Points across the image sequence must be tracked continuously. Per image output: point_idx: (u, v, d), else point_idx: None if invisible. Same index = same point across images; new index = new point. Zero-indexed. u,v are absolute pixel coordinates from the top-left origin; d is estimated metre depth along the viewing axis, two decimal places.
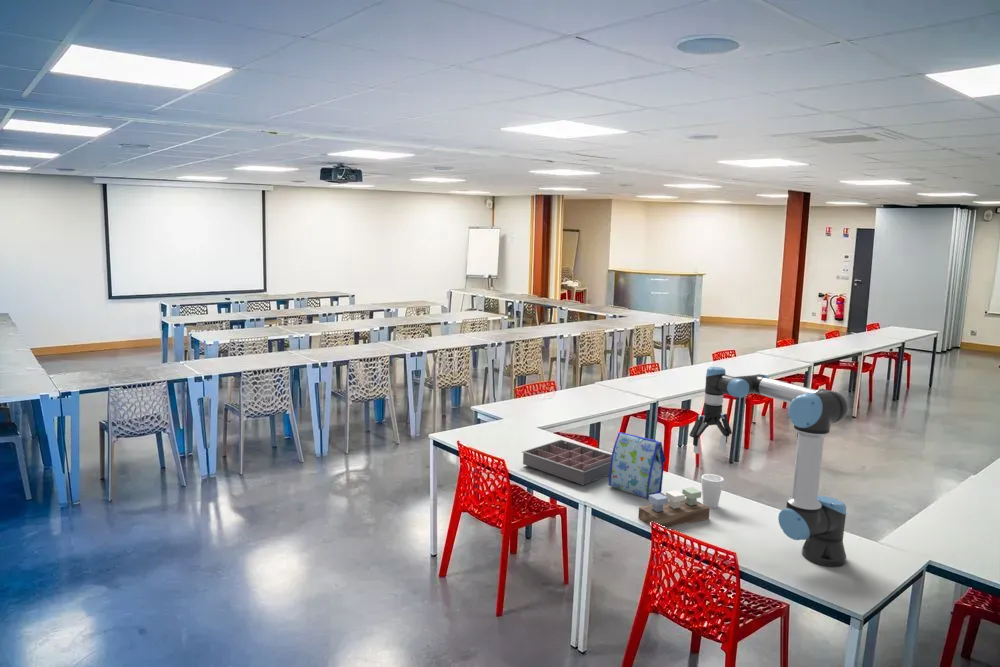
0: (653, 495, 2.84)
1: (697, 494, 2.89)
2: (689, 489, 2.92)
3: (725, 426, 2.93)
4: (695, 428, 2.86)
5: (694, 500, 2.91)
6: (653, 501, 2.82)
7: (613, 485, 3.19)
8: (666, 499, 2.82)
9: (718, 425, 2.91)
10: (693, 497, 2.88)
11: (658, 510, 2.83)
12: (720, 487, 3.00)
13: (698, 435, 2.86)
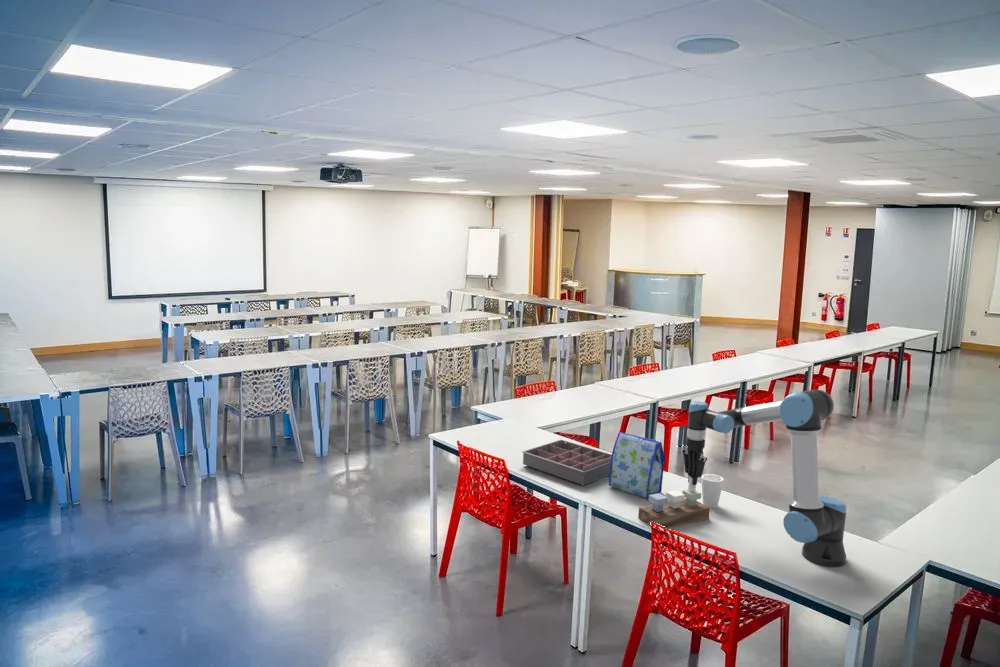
0: (653, 495, 2.84)
1: (697, 495, 2.89)
2: None
3: None
4: None
5: (694, 501, 2.91)
6: (653, 501, 2.82)
7: (613, 485, 3.19)
8: (666, 499, 2.82)
9: None
10: (693, 498, 2.89)
11: (658, 510, 2.83)
12: (720, 487, 3.00)
13: (688, 472, 2.91)
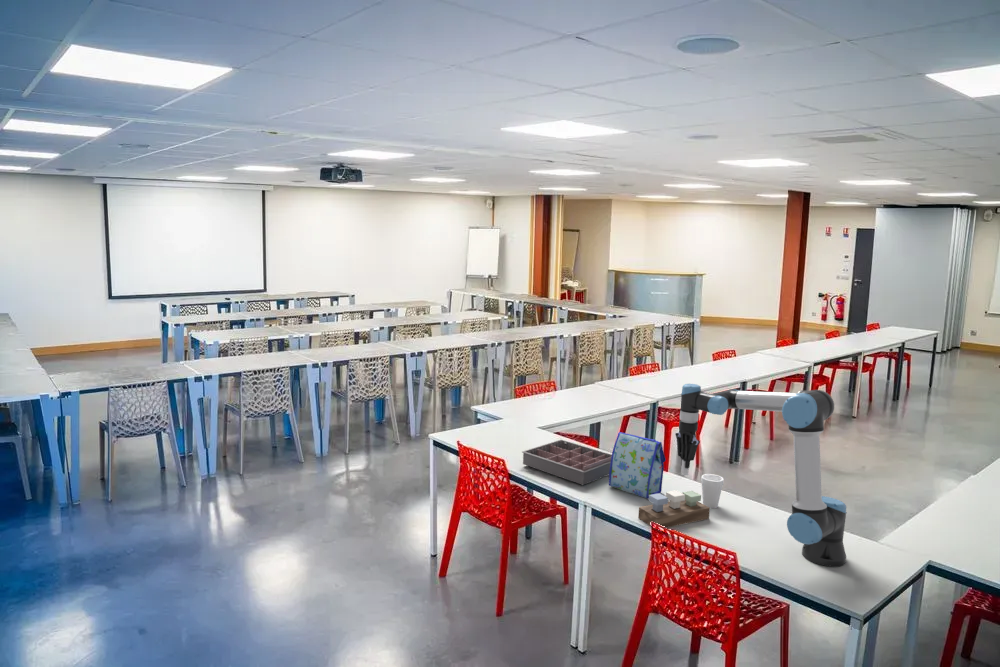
0: (653, 495, 2.84)
1: (697, 497, 2.89)
2: (688, 493, 2.92)
3: None
4: None
5: (694, 503, 2.91)
6: (653, 501, 2.82)
7: (613, 485, 3.19)
8: (666, 499, 2.82)
9: None
10: (693, 500, 2.89)
11: (658, 510, 2.83)
12: (720, 487, 3.00)
13: (681, 455, 2.88)
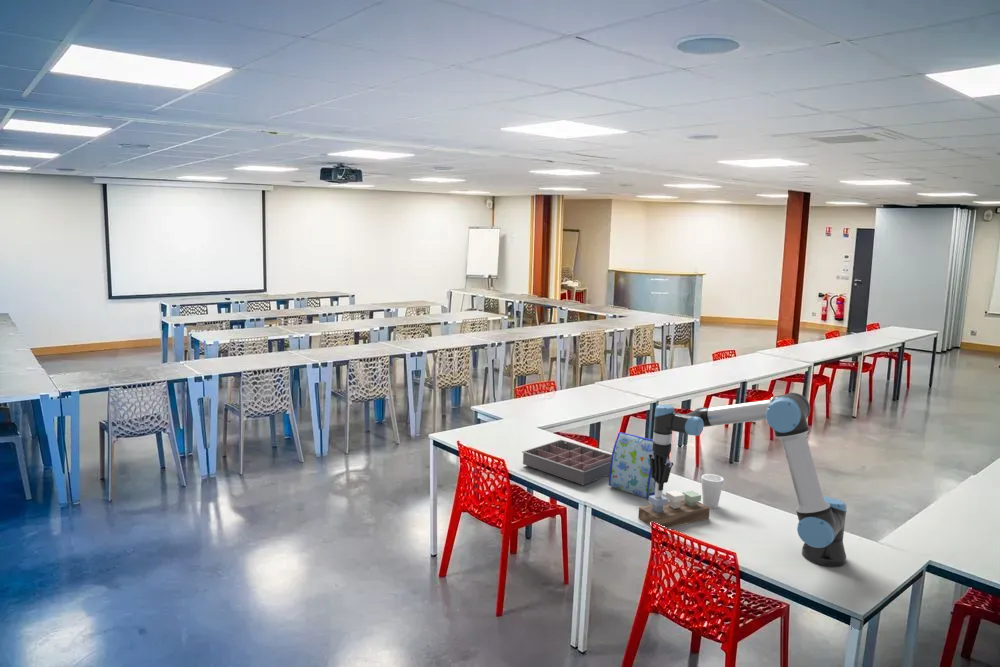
0: (653, 496, 2.84)
1: (697, 497, 2.89)
2: (688, 493, 2.92)
3: None
4: None
5: (694, 503, 2.91)
6: (653, 502, 2.82)
7: (613, 485, 3.19)
8: (666, 500, 2.82)
9: None
10: (693, 500, 2.89)
11: (658, 511, 2.83)
12: (720, 487, 3.00)
13: (654, 477, 2.83)
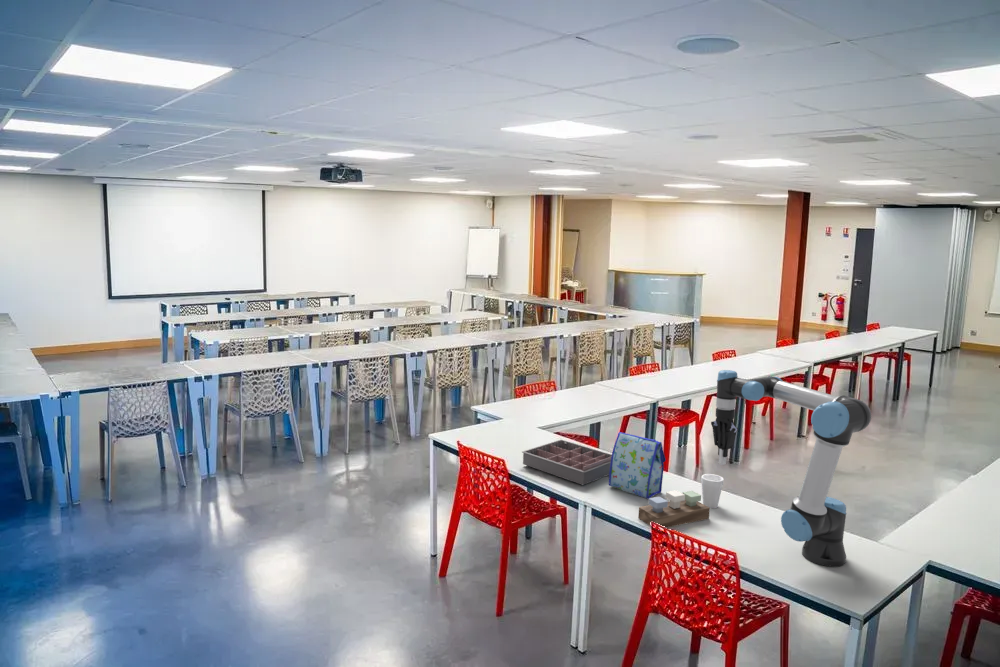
0: (653, 498, 2.85)
1: (697, 497, 2.89)
2: (688, 493, 2.92)
3: None
4: None
5: (694, 503, 2.91)
6: (653, 504, 2.82)
7: (613, 485, 3.19)
8: (666, 502, 2.82)
9: None
10: (693, 500, 2.89)
11: None
12: (720, 487, 3.00)
13: (718, 444, 2.81)
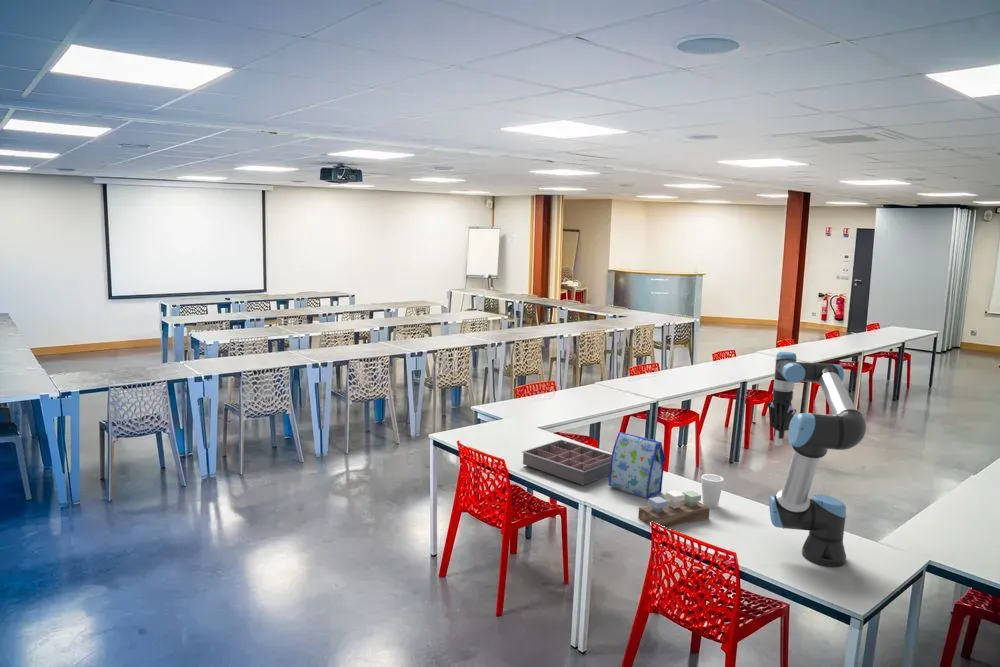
0: (653, 498, 2.85)
1: (697, 497, 2.89)
2: (688, 493, 2.92)
3: None
4: None
5: (694, 503, 2.91)
6: (653, 504, 2.82)
7: (613, 485, 3.19)
8: (666, 502, 2.82)
9: None
10: (693, 500, 2.89)
11: None
12: (720, 487, 3.00)
13: (774, 425, 2.81)
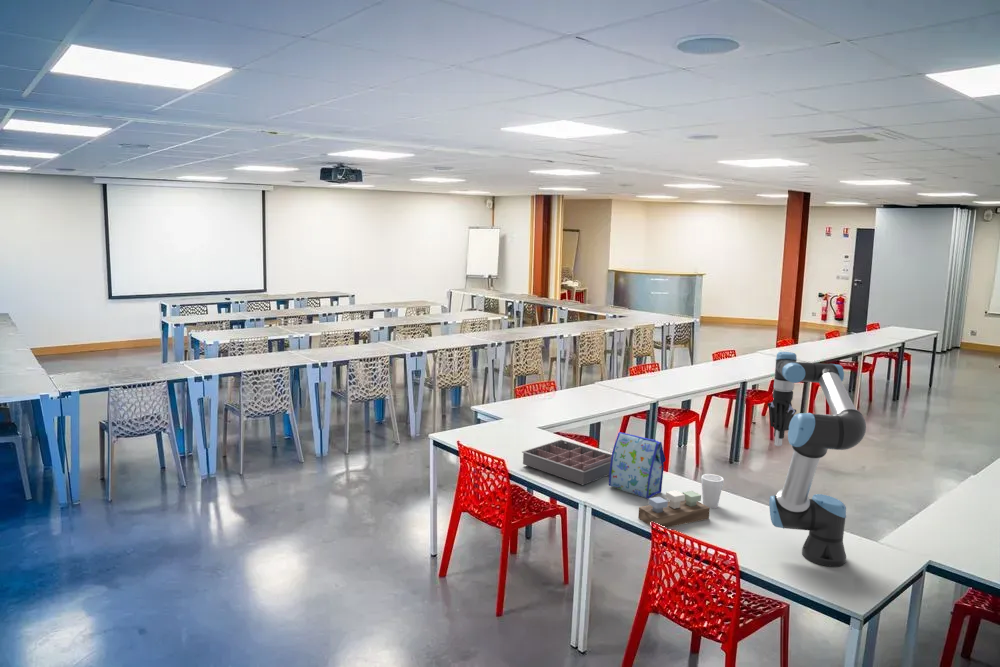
0: (653, 498, 2.85)
1: (697, 497, 2.89)
2: (688, 493, 2.92)
3: None
4: None
5: (694, 503, 2.91)
6: (653, 504, 2.82)
7: (613, 485, 3.19)
8: (666, 502, 2.82)
9: None
10: (693, 500, 2.89)
11: None
12: (720, 487, 3.00)
13: (774, 425, 2.81)
